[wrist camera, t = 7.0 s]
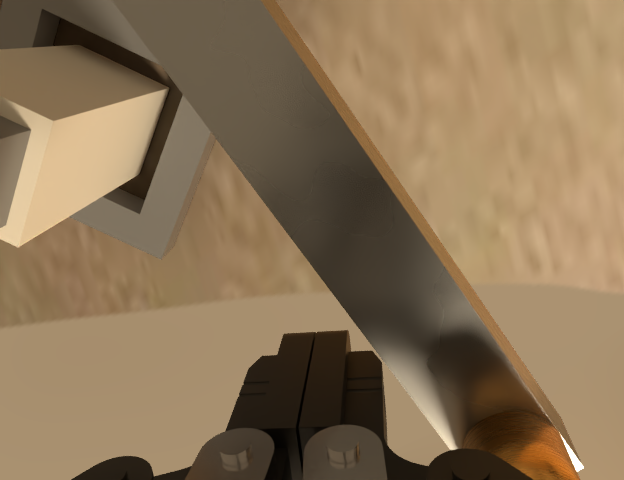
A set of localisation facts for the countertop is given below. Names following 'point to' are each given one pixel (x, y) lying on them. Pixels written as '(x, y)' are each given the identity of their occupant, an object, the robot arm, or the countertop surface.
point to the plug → (68, 133)
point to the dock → (179, 145)
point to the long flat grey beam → (354, 224)
